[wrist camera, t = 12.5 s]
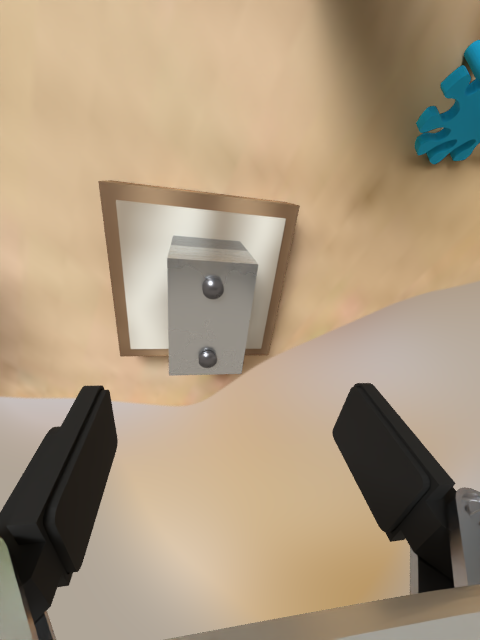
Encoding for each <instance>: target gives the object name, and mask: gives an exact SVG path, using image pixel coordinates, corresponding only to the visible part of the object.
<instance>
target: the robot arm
mask: <svg viewBox="0 0 480 640" xmlns="http://www.w3.org/2000/svg"><path fill="white" fill-rule="evenodd" d="M333 437H334V440H335V442H336V444H337V445H338V448H339V450H340V451H341V453H342V455H343V457H344V459H345V461H346V463H347V465H348V467H349V469H350V471H351V473H352V475H353V476H354V479H355V481H356V483H357V485H358V486H359V488H360V490H361V492H362V494H363V496H364V498H365V500H366V502H367V504H368V506H369V508H370V510H371V512H372V514H373V516H374V518H375V520H376V522H377V524H378V525H379V527H380V528H381V530H382V531H384V532H386V534H387V536H388V538H389V540H390V542H391V541H398V540H404V539H405V538H406V540H407V541H408V543H409V545H410V595H406V596H401V597H395V598H389V599H384V600H378V601H372V602H367V603H361V604H355V605H350V606H344V607H339V608H333V609H328V610H322V611H317V612H311V613H305V614H300V615H295V616H289V617H284V618H278V619H273V620H267V621H262V622H257V623H251V624H245V625H241V626H235V627H230V628H224V629H219V630H213V631H208V632H203V633H197V634H192V635H187V636H182V637H176V638H171V639H165V640H480V492H478V491H476V490H474V489H471V488H460V489H458V490H457V491H456V490H455V489H454V488H453V486H454V484H455V482H454V481H453V480H452V479H451V478H450V476H449V475H448V474H447V473H446V472H445V470H444V469H443V468H442V467H441V466H440V464H439V463H438V462H437V461H436V460H435V458H434V457H433V456H432V455H431V454H430V453H429V451H428V450H427V449H426V448H425V446H424V445H423V444H422V443H421V442H420V440H419V439H418V438H417V437H416V436H415V434H414V433H413V432H412V431H411V430H410V428H409V427H408V426H407V425H406V424H405V422H404V421H403V420H402V419H401V418H400V416H399V415H398V414H397V413H396V412H395V410H394V409H393V408H392V407H391V406H390V404H389V403H388V402H387V401H386V400H385V398H384V397H383V396H382V395H381V394H380V392H379V391H378V390H377V389H376V388H375V386H373V384H371V383H357V384H355V385H354V387H352V388H351V389H350V392H349V394H348V397H347V399H346V401H345V403H344V405H343V408H342V410H341V412H340V415H339V417H338V419H337V422H336V424H335V426H334V428H333ZM116 448H117V434H116V428H115V422H114V416H113V410H112V404H111V398H110V392H109V390H104V387H103V386H84V387H83V388H82V389H81V391H80V393H79V394H78V396H77V398H76V400H75V402H74V403H73V405H72V407H71V409H70V411H69V413H68V414H67V416H66V418H65V420H64V422H63V424H62V425H61V427H53V428H52V429H50V430H49V432H48V433H47V434H46V436H45V438H44V439H43V441H42V443H41V444H40V446H39V448H38V449H37V451H36V453H35V455H34V456H33V458H32V460H31V461H30V463H29V465H28V466H27V468H26V470H25V472H24V473H23V475H22V477H21V478H20V480H19V482H18V483H17V485H16V487H15V489H14V490H13V492H12V494H11V495H10V497H9V499H8V500H7V502H6V504H5V506H4V507H3V509H2V511H1V512H0V640H56V637H55V634H54V631H53V629H52V625H51V622H50V619H49V616H48V613H47V609H48V608H49V607H50V606H51V604H52V601H53V598H54V595H55V592H56V589H57V587H61V586H68V585H69V583H70V580H71V577H72V573H73V572H78V571H79V569H80V567H81V565H82V562H83V559H84V556H85V552H86V549H87V546H88V542H89V539H90V536H91V532H92V529H93V526H94V522H95V519H96V516H97V512H98V509H99V506H100V502H101V499H102V496H103V492H104V489H105V486H106V482H107V479H108V475H109V472H110V469H111V466H112V462H113V459H114V456H115V452H116Z"/></svg>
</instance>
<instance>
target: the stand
mask: <svg viewBox="0 0 480 640" xmlns="http://www.w3.org/2000/svg"><path fill="white" fill-rule="evenodd" d="M99 189H100V197H101V205H102V213H103V221H104V229H105V237H106V245H107V253H108V261H109V269H110V277H111V285H112V293H113V301H114V309H115V317H116V325H117V333H118V341H119V349H120V356H169V342H168V277H167V257H168V253H169V249H170V245H171V242H172V238H173V236H185V237H196V238H208V239H219V240H231V241H240V242H241V243H242V244H243V246H244V247H245V248H246V249H247V251H248V252H249V253H250V254H251V256H252V257H253V258H254V259H255V261H256V262H257V263H258V271H257V277H256V284H255V290H254V296H253V303H252V309H251V316H250V322H249V328H248V335H247V341H246V348H245V354H244V355H268V354H269V349H270V345H271V340H272V335H273V330H274V326H275V321H276V316H277V311H278V307H279V302H280V297H281V292H282V287H283V283H284V278H285V273H286V268H287V264H288V259H289V254H290V249H291V245H292V240H293V235H294V230H295V226H296V221H297V216H298V211H299V206H298V205H295V204H291V203H287V202H280V201H272V200H263V199H255V198H247V197H239V196H231V195H223V194H215V193H207V192H199V191H191V190H183V189H175V188H167V187H159V186H151V185H143V184H135V183H126V182H118V181H99Z"/></svg>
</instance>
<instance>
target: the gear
mask: <svg viewBox="0 0 480 640" xmlns="http://www.w3.org/2000/svg"><path fill="white" fill-rule="evenodd" d="M464 57H465V59H466V61H467V63H468V65H469V67H470V69H471V70H472V72H473V74H474V76H475V78H476V79H475V80H474V81H473V82H472V83H470V81H471V76H470V74H469V72H468V70H467V69H466V67H465V66H464V65H461V66H460V67H458V68H457V69H456V70H455V71H453V72H452V73H451V74H450V75H449V76H448V77H447V78H446V79H445V80H444V81H443V82H442V83H441V85H440V86H441V89H442V91H443V93H444V96H445V97H446V98H453V99H455V103H454V105H453V106H452V107H451V108H450V109H449V110H448V111H446V112H444V113H442V114H439V111H438V109H437V107H436V106H430V107H428V108H427V109H426V110H425V111H424V112H423V113H422V114H421V116H420V117H419V119H418V121H417V122H416V124H417V127H418V129H419V132H421V133H423V134H421V135H420V136H418V137H417V139H416V141H415V150H416V152H417V155H423V154H425V153H426V154H427V156H428V158H429V161H430V162H431V163H432V164H437V163H438V162H440V161H441V160H443V159H444V158H445V157H446V156H447V155H448V154H449V153H450V155H451V157H452V160H453V161H460V160H464V159H466V158H467V157H469V156H470V155H471V153H472V151H473V150H474V148H475V147H476V146H477V145H478V144H479V143H480V40H477V41H475V42H473V43H472V44H471V45H470V46H469V47H468V48H467V49H466V51H465V53H464ZM469 83H470V84H469ZM441 127H444V128H443V129H442V130H441V131H439V132H437V133H429V132H428V131H430V130H433V129H436V128H441ZM425 132H427V133H425Z"/></svg>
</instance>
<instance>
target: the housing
mask: <svg viewBox="0 0 480 640" xmlns="http://www.w3.org/2000/svg"><path fill="white" fill-rule="evenodd" d="M257 271H258V263H257V262H256V261H255V259H254V258H253V257H252V256H251V254H250V253H249V252H248V251H247V249H246V248H245V247H244V246H243V244H242V243H241V242H240V241H231V240H219V239H208V238H196V237H185V236H173V238H172V242H171V245H170V249H169V253H168V257H167V277H168V342H169V375H210V374H241V373H242V367H243V361H244V354H245V348H246V341H247V335H248V328H249V322H250V316H251V309H252V303H253V296H254V290H255V284H256V277H257Z"/></svg>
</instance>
